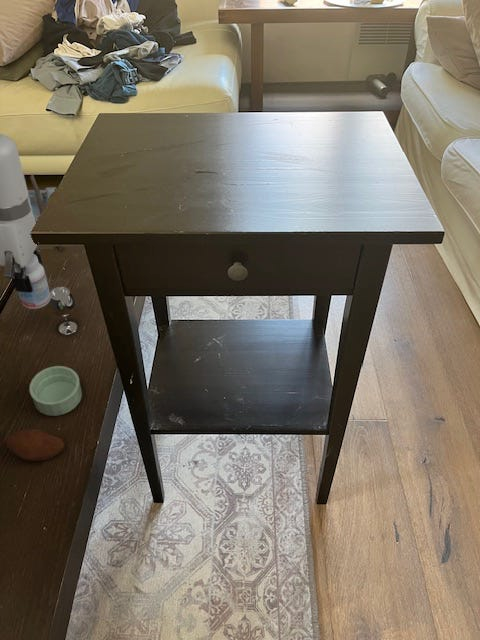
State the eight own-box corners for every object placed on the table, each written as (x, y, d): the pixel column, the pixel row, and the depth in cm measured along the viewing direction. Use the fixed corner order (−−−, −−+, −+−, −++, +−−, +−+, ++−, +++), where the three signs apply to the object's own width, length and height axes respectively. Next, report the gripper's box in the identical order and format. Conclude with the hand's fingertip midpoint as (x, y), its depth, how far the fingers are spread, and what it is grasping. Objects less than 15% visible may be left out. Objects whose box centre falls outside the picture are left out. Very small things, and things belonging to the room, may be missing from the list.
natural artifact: (68, 246, 148) (59, 251, 150) (34, 174, 144) (26, 180, 146) (58, 249, 144) (50, 253, 146) (24, 175, 141) (16, 181, 143)
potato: (61, 467, 99) (55, 450, 95) (3, 464, 99) (-6, 447, 94) (69, 441, 104) (64, 423, 99) (14, 438, 103) (6, 420, 99)
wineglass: (64, 340, 122) (56, 305, 114) (51, 327, 125) (41, 292, 116) (84, 328, 126) (77, 294, 117) (71, 316, 128) (63, 281, 119)
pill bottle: (15, 301, 106) (1, 260, 98) (38, 286, 109) (27, 246, 101) (34, 314, 104) (22, 273, 96) (57, 298, 107) (47, 258, 99)
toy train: (68, 190, 147) (72, 180, 160) (-33, 191, 141) (-20, 181, 154) (73, 227, 152) (76, 214, 165) (-25, 229, 146) (-13, 216, 159)
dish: (27, 415, 107) (22, 401, 103) (43, 377, 114) (38, 363, 111) (75, 419, 107) (71, 406, 104) (87, 381, 114) (84, 368, 111)
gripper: (5, 178, 95) (26, 252, 108) (-33, 231, 83) (-4, 307, 96) (44, 182, 96) (60, 255, 108) (12, 235, 84) (35, 310, 96)
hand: (30, 279), depth 102 cm, fingers closed on pill bottle, 6 cm apart
